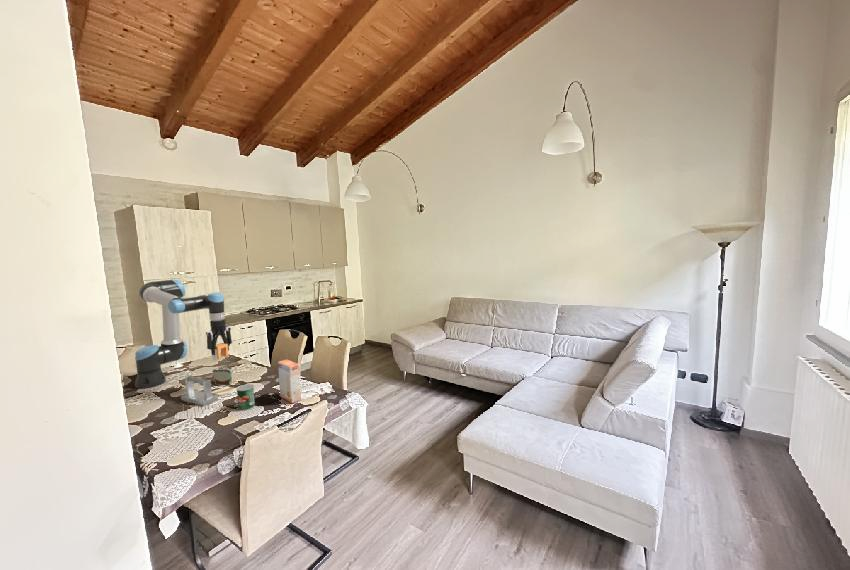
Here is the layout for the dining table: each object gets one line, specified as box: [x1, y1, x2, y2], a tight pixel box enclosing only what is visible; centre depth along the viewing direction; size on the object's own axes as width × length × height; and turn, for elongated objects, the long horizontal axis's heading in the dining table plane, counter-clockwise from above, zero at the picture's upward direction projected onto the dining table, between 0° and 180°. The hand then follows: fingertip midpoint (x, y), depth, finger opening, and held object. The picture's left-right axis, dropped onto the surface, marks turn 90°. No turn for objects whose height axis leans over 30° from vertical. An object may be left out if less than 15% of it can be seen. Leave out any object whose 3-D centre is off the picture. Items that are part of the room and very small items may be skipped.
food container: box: [211, 365, 234, 386], centre depth 216 cm, size 12×6×10 cm, turn 84°
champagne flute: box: [171, 360, 184, 369], centre depth 246 cm, size 7×7×24 cm
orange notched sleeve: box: [215, 342, 230, 360], centre depth 201 cm, size 5×6×8 cm
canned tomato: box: [236, 384, 256, 411], centre depth 183 cm, size 8×8×11 cm
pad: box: [212, 385, 237, 397], centre depth 204 cm, size 10×10×1 cm
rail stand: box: [180, 375, 219, 407], centre depth 192 cm, size 20×8×12 cm, turn 65°
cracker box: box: [277, 359, 302, 404], centre depth 192 cm, size 14×6×21 cm, turn 48°
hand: (221, 358), depth 201 cm, fingers closed on orange notched sleeve, 6 cm apart
